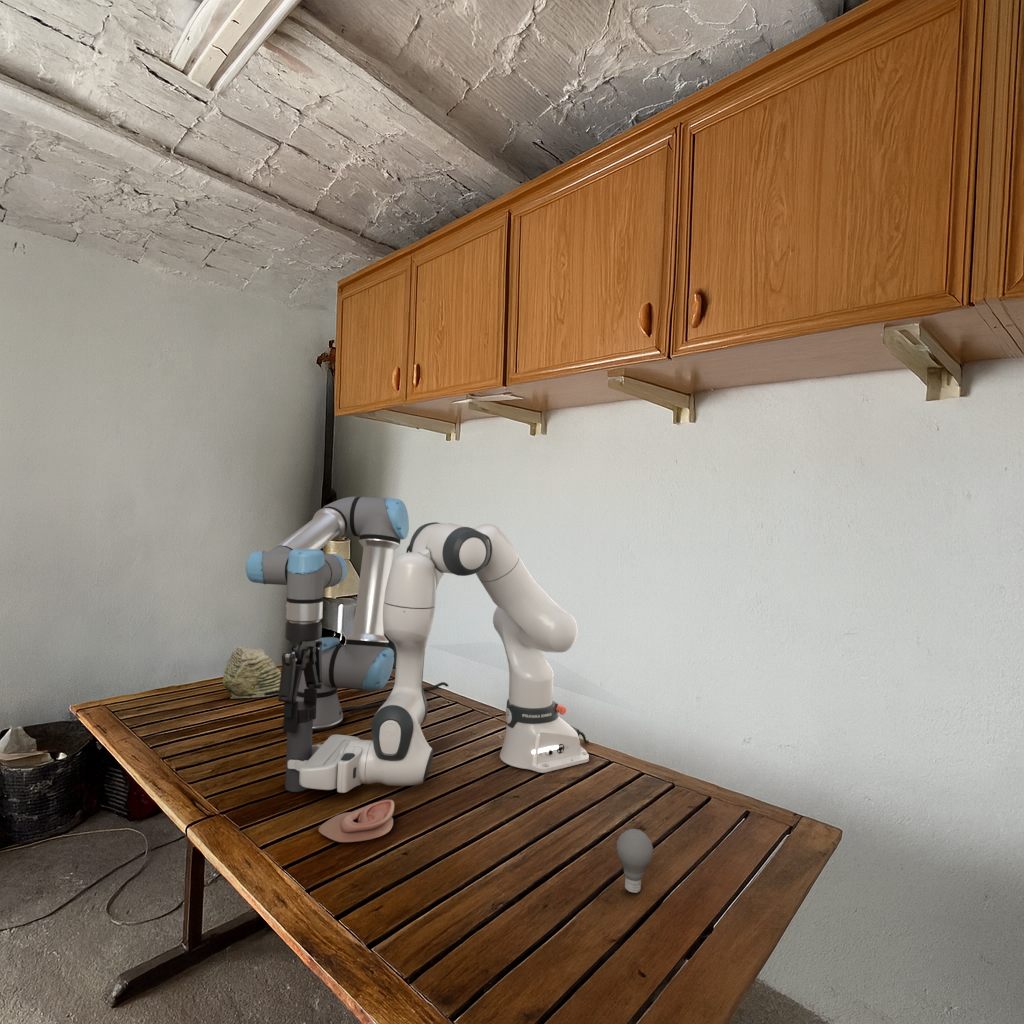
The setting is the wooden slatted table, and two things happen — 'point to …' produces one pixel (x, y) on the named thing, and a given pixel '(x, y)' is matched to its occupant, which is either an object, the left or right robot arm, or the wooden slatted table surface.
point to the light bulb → (634, 857)
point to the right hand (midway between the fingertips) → (294, 757)
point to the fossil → (251, 674)
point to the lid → (305, 710)
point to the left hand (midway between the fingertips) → (300, 724)
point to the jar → (298, 752)
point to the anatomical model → (360, 823)
